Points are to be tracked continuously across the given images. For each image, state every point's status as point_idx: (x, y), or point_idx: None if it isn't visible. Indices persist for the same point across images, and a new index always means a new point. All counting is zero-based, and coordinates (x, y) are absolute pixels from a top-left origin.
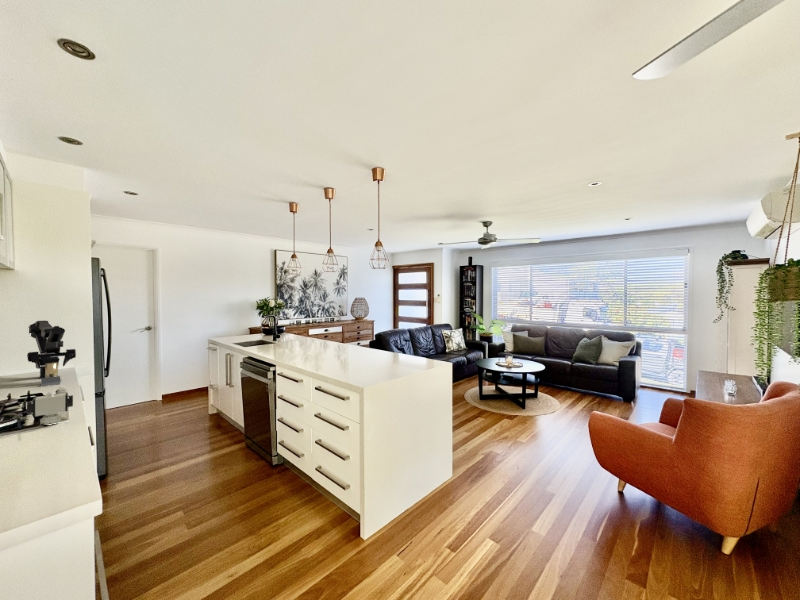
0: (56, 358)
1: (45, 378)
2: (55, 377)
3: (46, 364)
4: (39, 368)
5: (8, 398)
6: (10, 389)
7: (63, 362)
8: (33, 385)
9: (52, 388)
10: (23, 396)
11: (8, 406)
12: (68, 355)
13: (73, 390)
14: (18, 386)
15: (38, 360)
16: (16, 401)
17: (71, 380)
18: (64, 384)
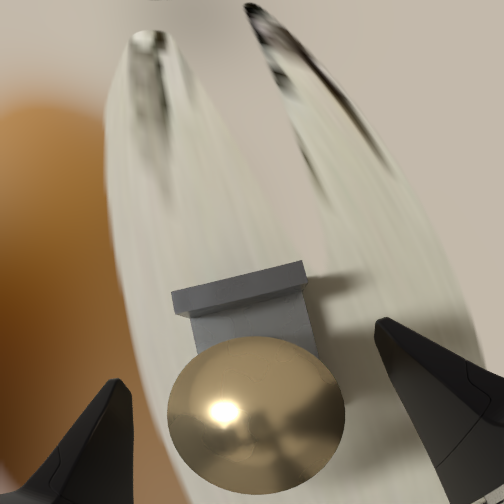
0: None
1: (273, 270)
2: (203, 287)
3: (312, 354)
4: (376, 333)
5: (316, 65)
6: (440, 274)
7: (99, 412)
8: (366, 356)
9: (200, 176)
10: (273, 70)
11: (254, 4)
12: (6, 497)
13: (110, 103)
14: None
15: (472, 393)
16: (260, 28)
17: (160, 422)
18: (161, 278)
